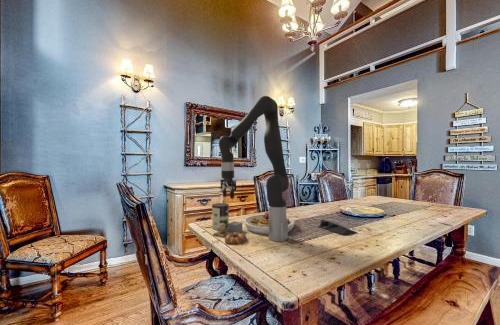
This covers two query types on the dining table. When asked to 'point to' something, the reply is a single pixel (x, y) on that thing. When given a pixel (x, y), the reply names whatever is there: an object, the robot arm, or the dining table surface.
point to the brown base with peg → (221, 231)
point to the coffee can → (220, 215)
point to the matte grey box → (235, 227)
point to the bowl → (263, 223)
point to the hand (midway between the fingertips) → (228, 197)
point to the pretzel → (235, 238)
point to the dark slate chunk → (335, 228)
